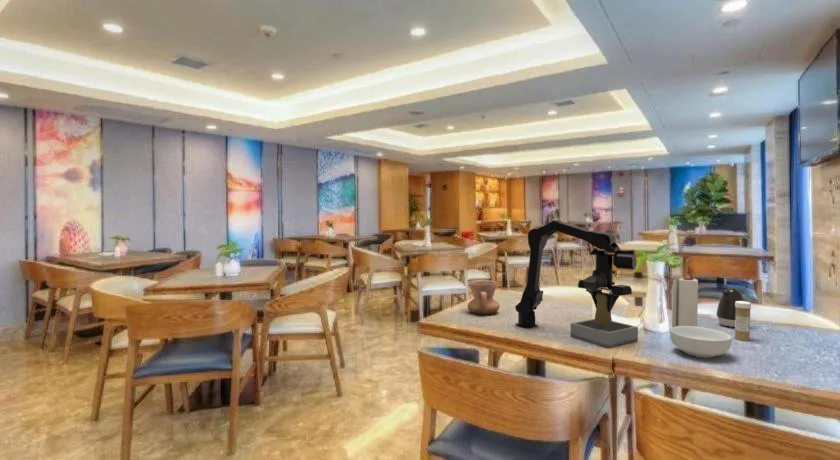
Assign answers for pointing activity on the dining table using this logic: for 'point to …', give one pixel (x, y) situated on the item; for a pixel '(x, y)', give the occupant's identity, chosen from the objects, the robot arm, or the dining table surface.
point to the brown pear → (602, 310)
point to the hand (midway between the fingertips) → (603, 310)
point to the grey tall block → (685, 302)
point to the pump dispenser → (728, 306)
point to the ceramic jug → (483, 297)
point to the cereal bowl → (700, 341)
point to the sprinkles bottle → (742, 320)
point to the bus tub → (604, 333)
